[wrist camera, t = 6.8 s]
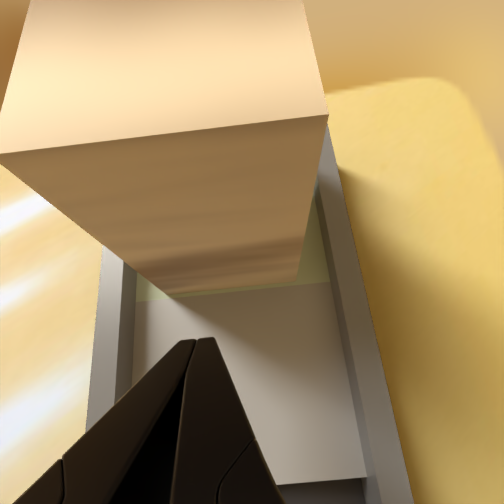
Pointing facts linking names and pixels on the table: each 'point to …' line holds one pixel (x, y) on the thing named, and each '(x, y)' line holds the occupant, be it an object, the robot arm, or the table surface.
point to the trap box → (275, 359)
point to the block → (172, 132)
